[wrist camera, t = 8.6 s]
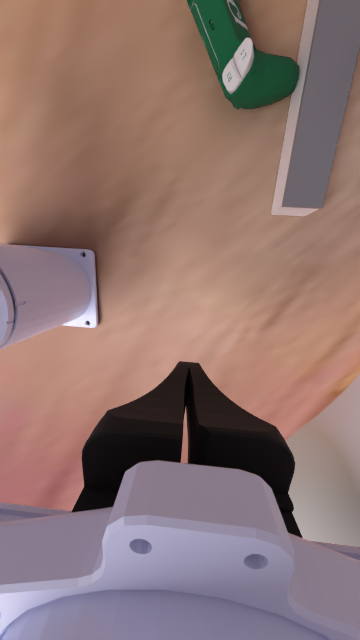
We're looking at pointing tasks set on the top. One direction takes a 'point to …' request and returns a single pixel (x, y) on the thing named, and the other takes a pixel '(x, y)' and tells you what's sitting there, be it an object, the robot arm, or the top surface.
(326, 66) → the bar
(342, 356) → the top surface
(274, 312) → the top surface
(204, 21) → the gaming controller
